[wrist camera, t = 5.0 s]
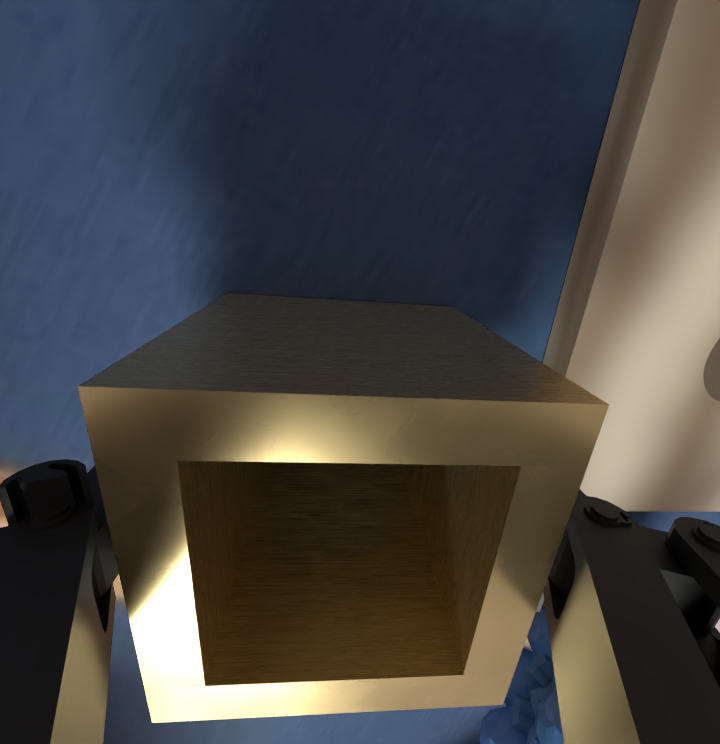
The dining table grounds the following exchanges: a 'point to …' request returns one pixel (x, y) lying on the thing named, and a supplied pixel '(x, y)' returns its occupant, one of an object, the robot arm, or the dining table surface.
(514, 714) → the grapes
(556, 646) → the robot arm
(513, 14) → the dining table surface
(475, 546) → the brass square cup
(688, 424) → the fitting board
